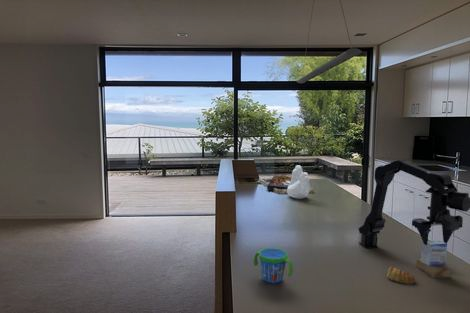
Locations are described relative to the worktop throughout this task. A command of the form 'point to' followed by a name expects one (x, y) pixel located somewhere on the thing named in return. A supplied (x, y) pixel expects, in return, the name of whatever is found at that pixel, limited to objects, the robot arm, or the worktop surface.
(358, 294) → the worktop surface
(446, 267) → the walnut pedestal block
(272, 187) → the food platter
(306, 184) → the decorative rooster
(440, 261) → the medicine box
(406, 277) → the pastry
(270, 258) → the snack cup
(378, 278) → the worktop surface
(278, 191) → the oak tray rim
